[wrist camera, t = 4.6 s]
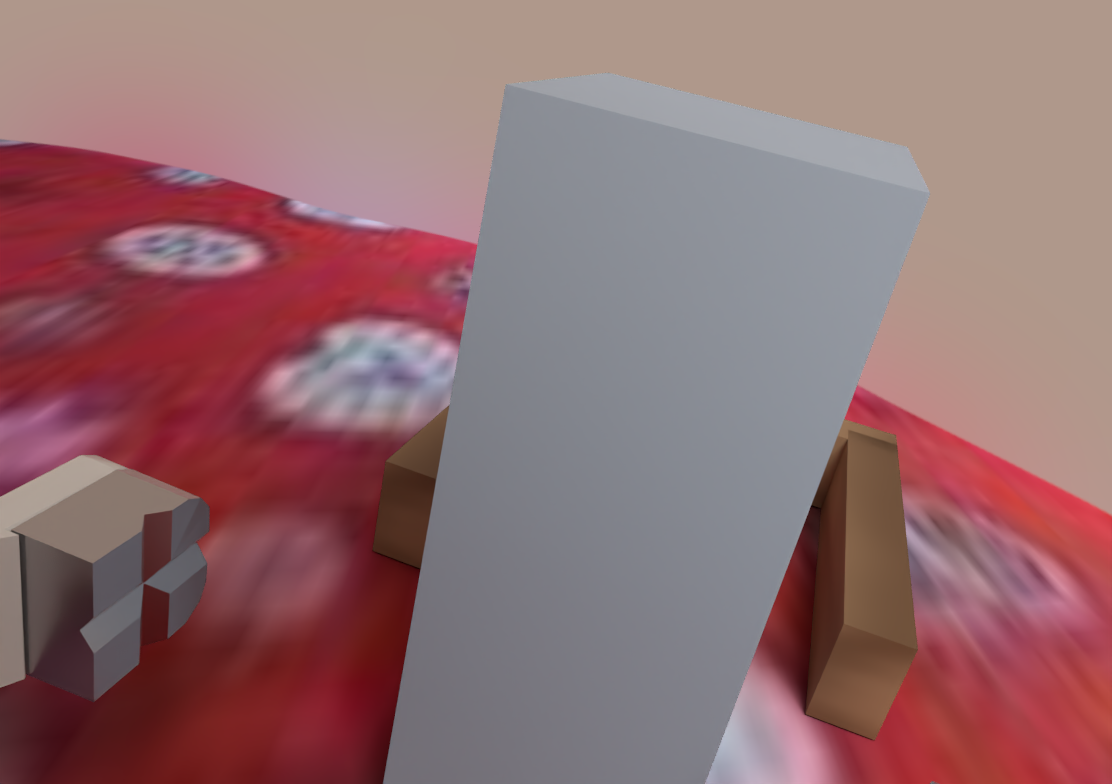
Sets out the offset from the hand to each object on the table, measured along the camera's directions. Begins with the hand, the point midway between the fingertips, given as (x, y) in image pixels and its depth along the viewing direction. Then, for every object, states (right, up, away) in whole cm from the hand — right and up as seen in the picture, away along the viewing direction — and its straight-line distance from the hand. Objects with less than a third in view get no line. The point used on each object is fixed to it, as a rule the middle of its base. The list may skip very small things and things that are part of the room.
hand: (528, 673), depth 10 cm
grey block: (0, -4, +6) cm, 8 cm away
